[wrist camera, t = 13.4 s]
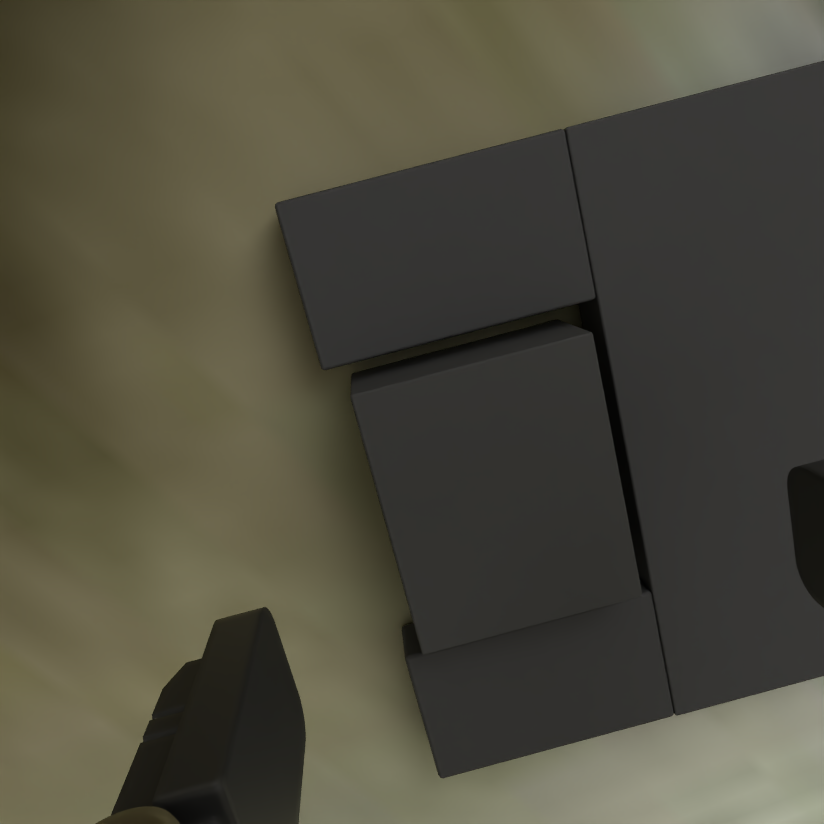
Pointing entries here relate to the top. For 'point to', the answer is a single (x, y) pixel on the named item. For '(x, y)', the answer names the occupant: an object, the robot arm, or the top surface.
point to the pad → (498, 483)
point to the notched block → (620, 385)
